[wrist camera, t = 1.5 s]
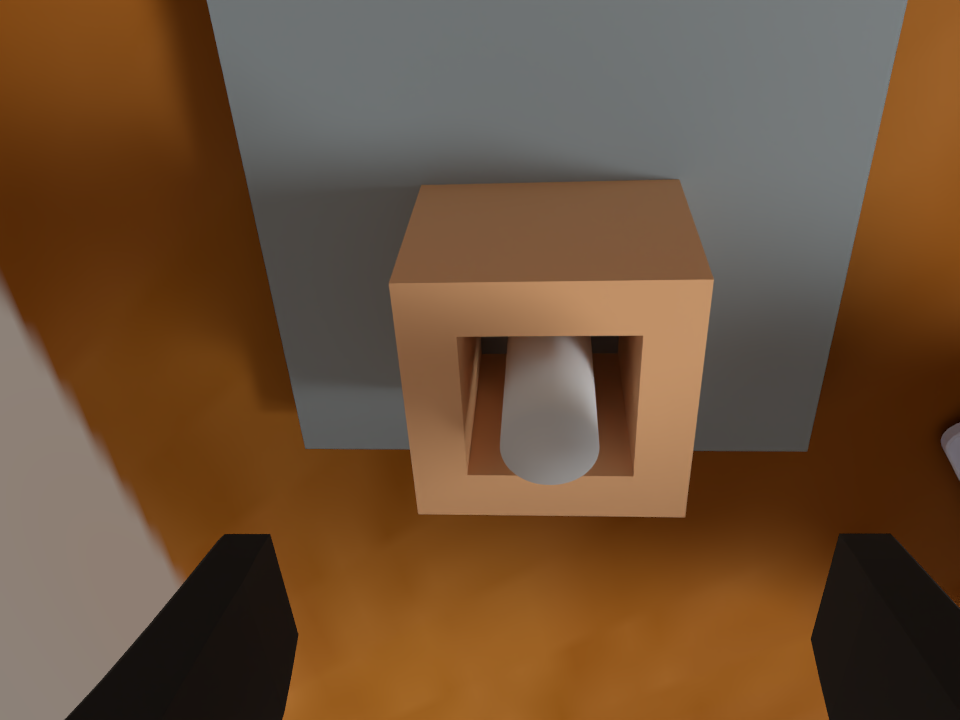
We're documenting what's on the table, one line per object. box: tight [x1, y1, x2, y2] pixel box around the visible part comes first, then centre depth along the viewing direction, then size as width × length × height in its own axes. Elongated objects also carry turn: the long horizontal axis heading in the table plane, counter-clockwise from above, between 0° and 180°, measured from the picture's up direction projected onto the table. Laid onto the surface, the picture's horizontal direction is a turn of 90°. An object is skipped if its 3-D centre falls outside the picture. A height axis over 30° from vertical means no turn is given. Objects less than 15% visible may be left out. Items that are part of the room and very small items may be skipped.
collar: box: [389, 179, 714, 517], centre depth 16 cm, size 5×5×4 cm
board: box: [207, 0, 907, 485], centre depth 13 cm, size 18×12×6 cm, turn 3°
